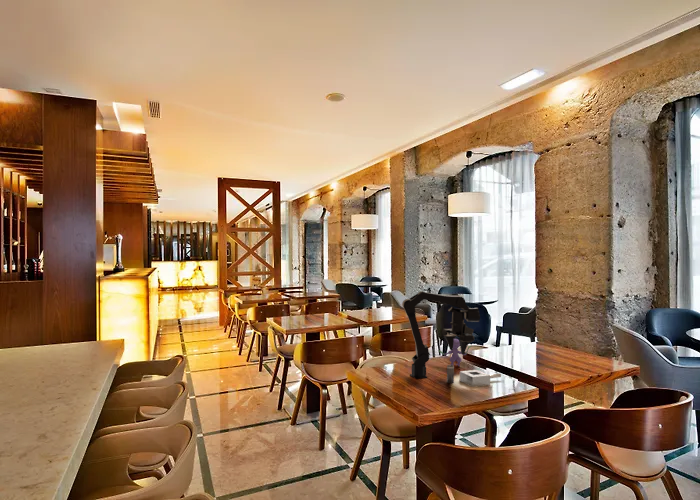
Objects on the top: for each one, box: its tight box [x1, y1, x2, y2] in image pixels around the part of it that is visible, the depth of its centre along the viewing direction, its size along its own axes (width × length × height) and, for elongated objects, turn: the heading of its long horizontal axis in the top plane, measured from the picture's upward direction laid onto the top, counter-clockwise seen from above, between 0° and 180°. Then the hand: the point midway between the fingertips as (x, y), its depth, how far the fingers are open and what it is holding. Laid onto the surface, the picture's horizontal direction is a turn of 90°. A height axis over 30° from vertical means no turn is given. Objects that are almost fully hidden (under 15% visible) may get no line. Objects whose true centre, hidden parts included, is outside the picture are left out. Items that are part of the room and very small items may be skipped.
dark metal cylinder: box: [446, 364, 455, 384], centre depth 192 cm, size 3×3×8 cm
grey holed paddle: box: [459, 369, 502, 388], centre depth 193 cm, size 20×10×4 cm, turn 110°
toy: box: [438, 338, 473, 367], centre depth 222 cm, size 18×6×15 cm, turn 84°
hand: (457, 352), depth 200 cm, fingers open, 9 cm apart
